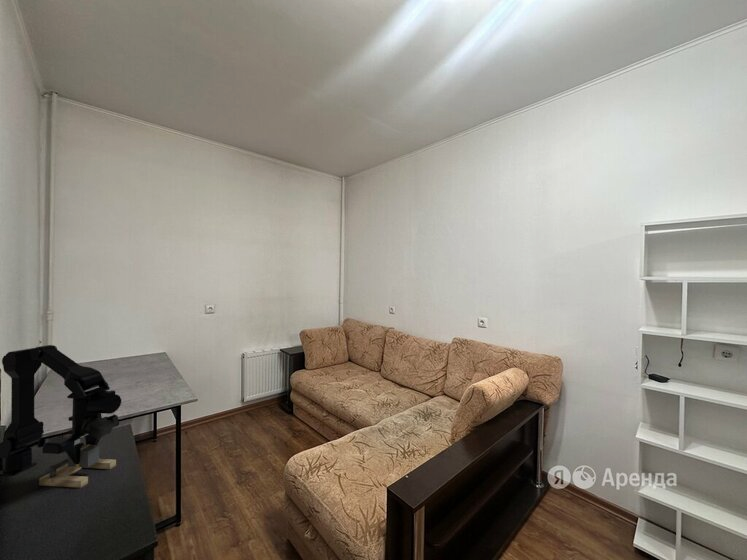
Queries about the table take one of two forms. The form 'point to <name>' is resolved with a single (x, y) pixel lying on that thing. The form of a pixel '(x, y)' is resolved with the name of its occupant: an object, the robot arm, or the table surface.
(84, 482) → the wooden u-shaped holder
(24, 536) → the table surface
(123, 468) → the table surface
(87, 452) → the banded grey block
